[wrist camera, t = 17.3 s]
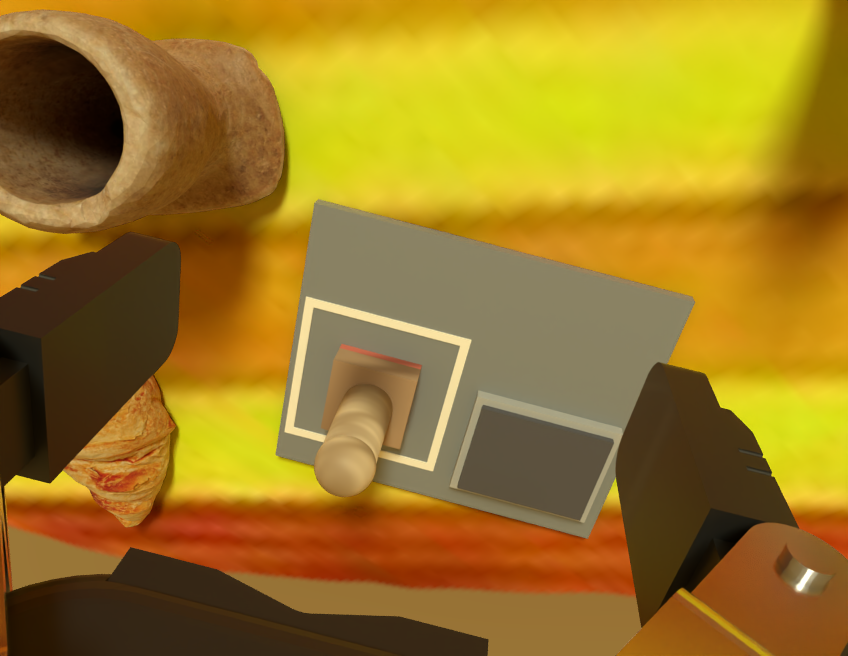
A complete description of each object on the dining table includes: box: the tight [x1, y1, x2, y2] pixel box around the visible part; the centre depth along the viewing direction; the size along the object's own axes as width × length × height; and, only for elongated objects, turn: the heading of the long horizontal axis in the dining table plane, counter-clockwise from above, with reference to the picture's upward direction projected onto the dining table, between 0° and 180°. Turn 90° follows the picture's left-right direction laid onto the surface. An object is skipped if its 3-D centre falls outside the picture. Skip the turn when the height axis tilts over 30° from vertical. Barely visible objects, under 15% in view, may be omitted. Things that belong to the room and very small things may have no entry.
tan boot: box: [0, 10, 285, 234], centre depth 36 cm, size 15×12×15 cm
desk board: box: [276, 200, 695, 539], centre depth 47 cm, size 24×20×2 cm
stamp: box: [314, 344, 422, 497], centre depth 44 cm, size 6×6×10 cm
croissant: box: [63, 375, 176, 527], centre depth 51 cm, size 21×10×8 cm, turn 4°
